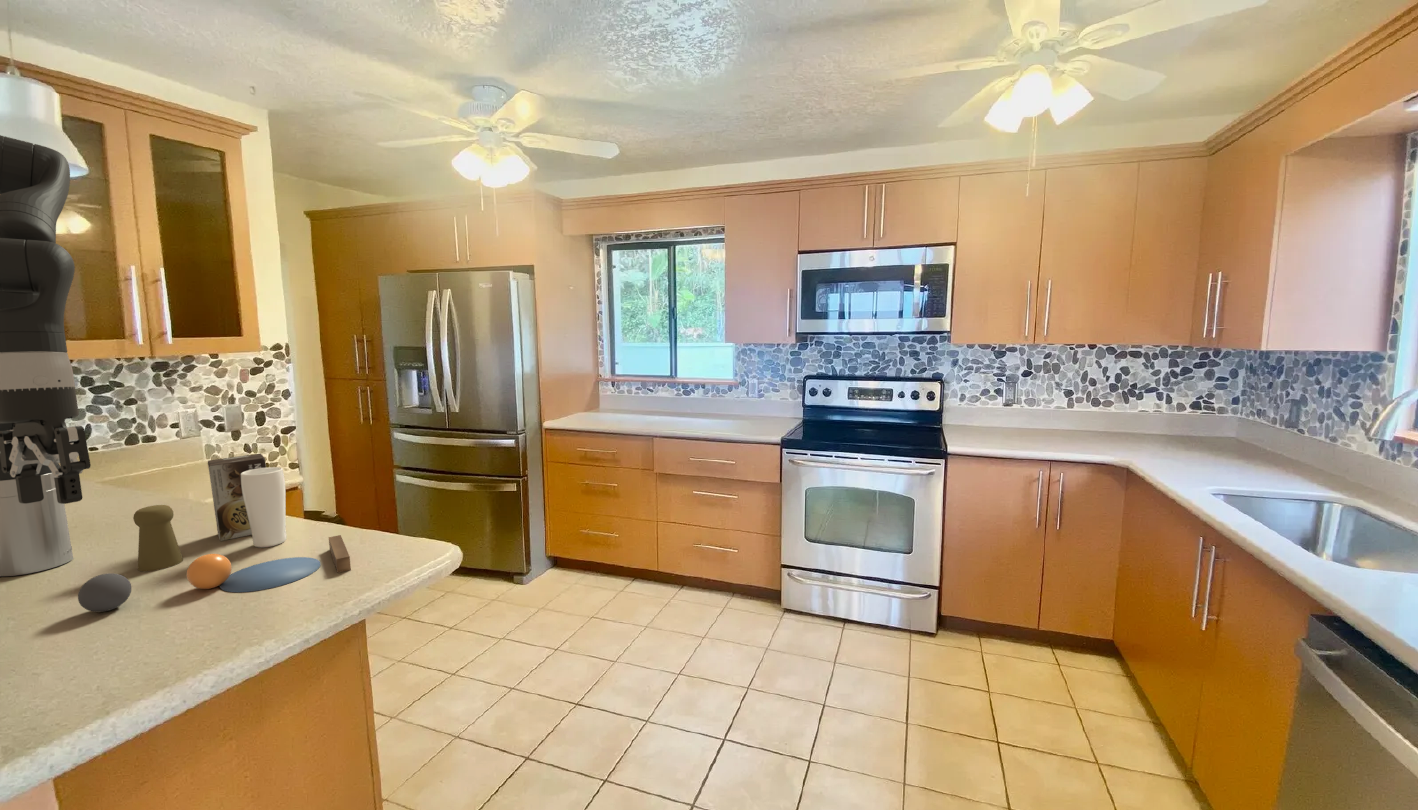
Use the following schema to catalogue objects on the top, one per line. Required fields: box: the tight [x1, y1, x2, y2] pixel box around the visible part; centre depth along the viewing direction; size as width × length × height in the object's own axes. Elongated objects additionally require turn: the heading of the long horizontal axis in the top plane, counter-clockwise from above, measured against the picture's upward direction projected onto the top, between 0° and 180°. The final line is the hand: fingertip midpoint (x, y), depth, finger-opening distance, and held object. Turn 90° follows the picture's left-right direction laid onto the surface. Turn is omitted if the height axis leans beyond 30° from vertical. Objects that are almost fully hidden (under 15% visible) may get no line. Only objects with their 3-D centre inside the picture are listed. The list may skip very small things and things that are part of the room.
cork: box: [132, 504, 184, 572], centre depth 103 cm, size 6×6×11 cm
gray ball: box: [77, 572, 132, 613], centre depth 86 cm, size 6×6×6 cm
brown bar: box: [328, 534, 352, 574], centre depth 105 cm, size 2×14×2 cm, turn 38°
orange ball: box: [186, 553, 233, 590], centre depth 94 cm, size 6×6×6 cm
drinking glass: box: [241, 466, 287, 548], centre depth 113 cm, size 7×7×15 cm
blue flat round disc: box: [219, 556, 321, 593], centre depth 99 cm, size 14×14×1 cm
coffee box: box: [207, 453, 267, 542], centre depth 120 cm, size 9×6×16 cm
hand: (50, 502), depth 79 cm, fingers open, 8 cm apart
